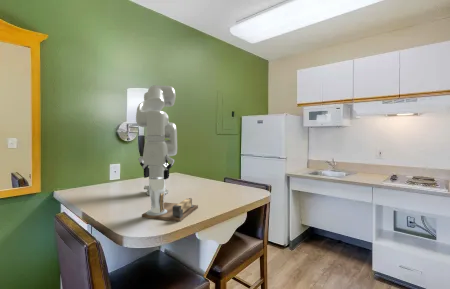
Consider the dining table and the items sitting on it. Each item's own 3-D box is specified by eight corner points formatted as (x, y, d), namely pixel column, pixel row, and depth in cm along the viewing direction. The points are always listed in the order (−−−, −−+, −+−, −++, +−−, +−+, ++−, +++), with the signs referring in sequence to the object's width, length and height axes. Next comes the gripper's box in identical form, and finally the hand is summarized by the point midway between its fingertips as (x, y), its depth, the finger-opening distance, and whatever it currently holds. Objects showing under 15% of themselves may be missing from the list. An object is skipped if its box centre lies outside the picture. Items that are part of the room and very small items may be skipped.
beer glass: (151, 209, 111) (150, 176, 110) (166, 209, 111) (166, 176, 111) (147, 214, 104) (147, 179, 103) (164, 214, 104) (163, 179, 104)
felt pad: (141, 214, 105) (141, 214, 105) (153, 208, 113) (153, 207, 113) (160, 216, 102) (160, 216, 102) (171, 210, 111) (171, 209, 111)
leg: (186, 206, 114) (186, 197, 114) (191, 206, 113) (191, 198, 113) (172, 215, 101) (172, 206, 101) (178, 216, 100) (178, 207, 100)
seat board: (141, 217, 105) (141, 205, 104) (164, 204, 123) (164, 194, 123) (180, 221, 100) (180, 208, 99) (198, 207, 118) (197, 197, 118)
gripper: (133, 139, 105) (134, 178, 106) (169, 140, 100) (169, 181, 102) (143, 138, 112) (144, 175, 114) (177, 139, 107) (178, 177, 109)
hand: (156, 178), depth 108 cm, fingers open, 9 cm apart
